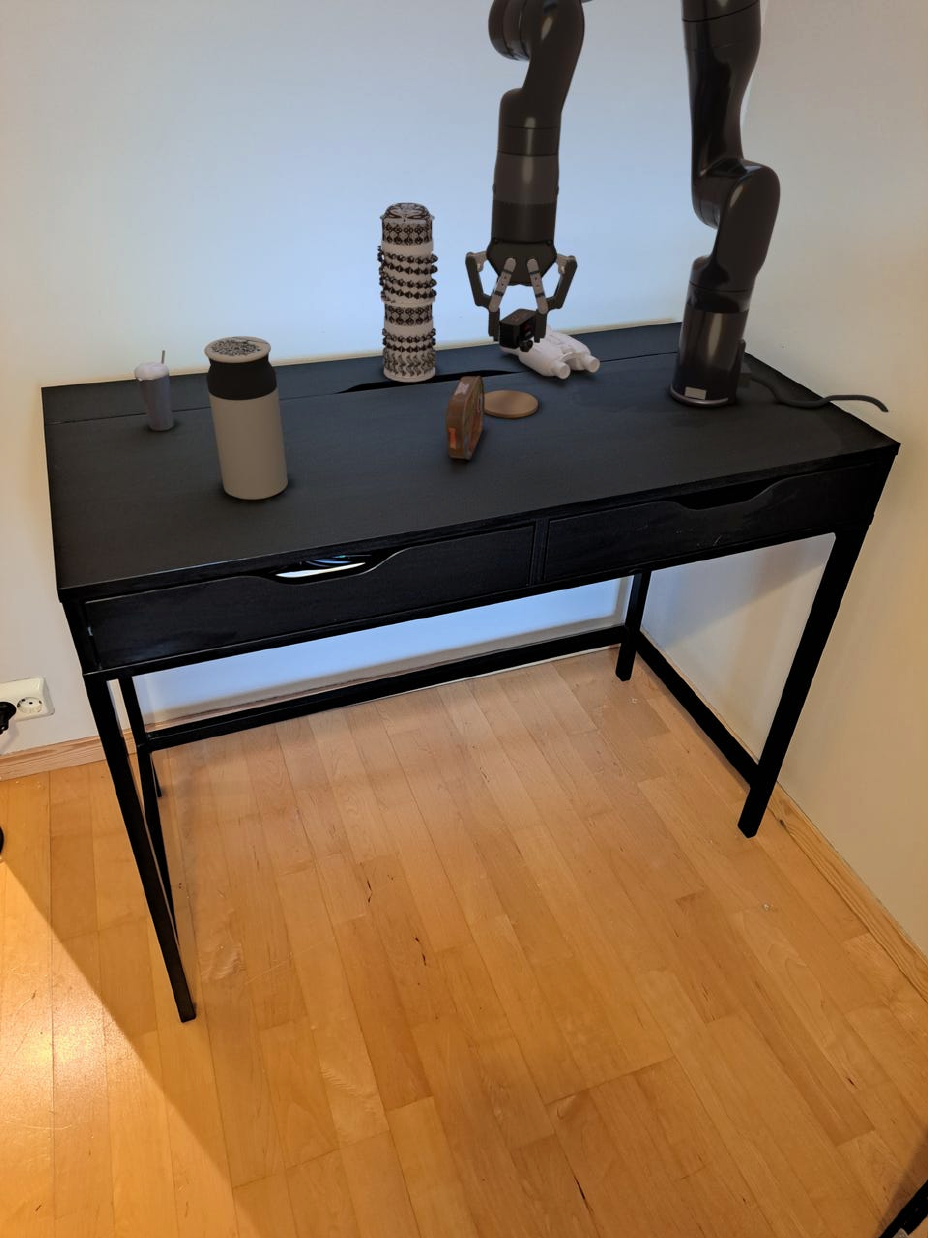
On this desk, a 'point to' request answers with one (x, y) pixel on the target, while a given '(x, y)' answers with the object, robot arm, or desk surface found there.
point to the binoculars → (557, 355)
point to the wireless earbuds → (517, 330)
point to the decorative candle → (408, 292)
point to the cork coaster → (509, 404)
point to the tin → (465, 417)
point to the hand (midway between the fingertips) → (516, 339)
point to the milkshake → (155, 393)
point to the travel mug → (246, 417)
